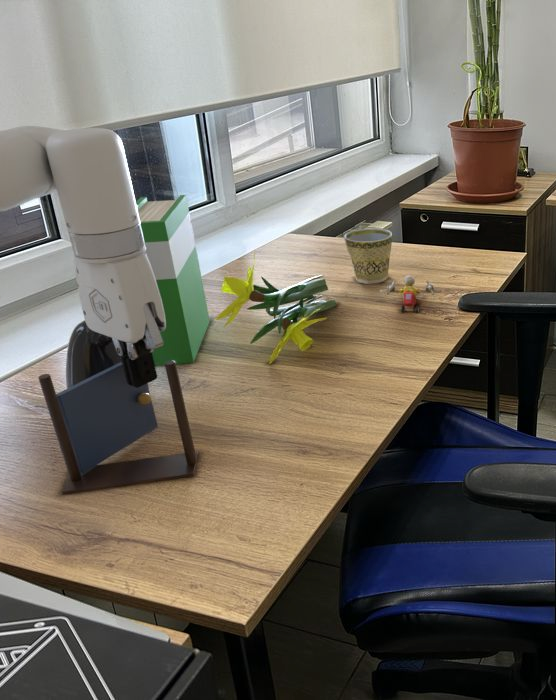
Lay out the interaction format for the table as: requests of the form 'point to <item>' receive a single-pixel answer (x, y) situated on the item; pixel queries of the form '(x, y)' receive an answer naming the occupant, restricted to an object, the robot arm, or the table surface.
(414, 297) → the toy airplane
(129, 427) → the door
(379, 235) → the ceramic cup
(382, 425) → the table surface
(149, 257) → the hardback book
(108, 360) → the dark grey rounded dome
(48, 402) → the door frame
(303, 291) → the daffodil flowers
